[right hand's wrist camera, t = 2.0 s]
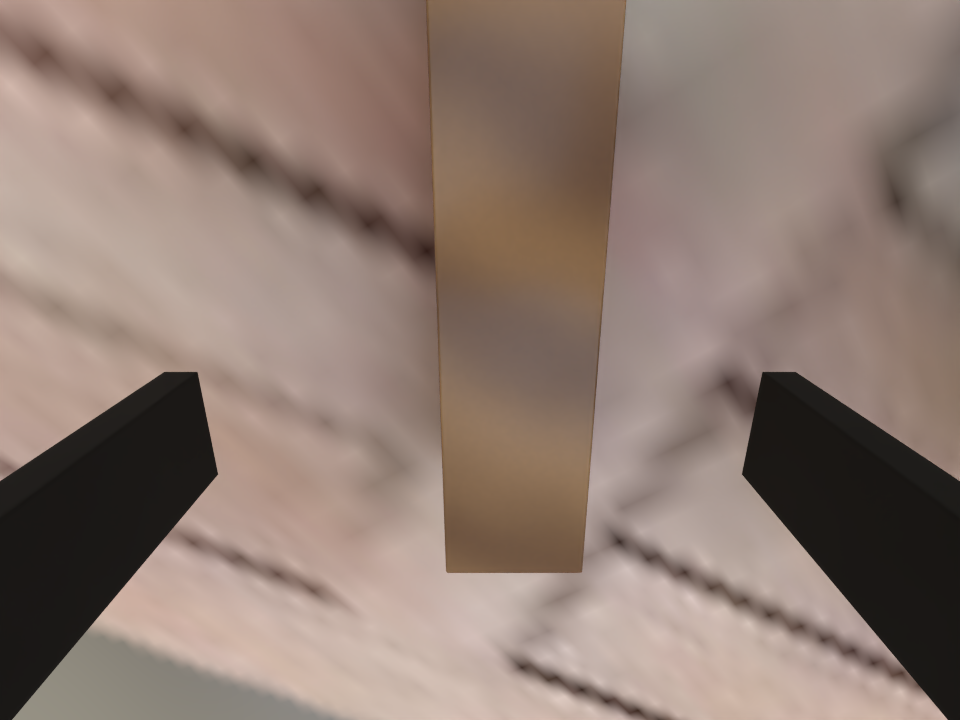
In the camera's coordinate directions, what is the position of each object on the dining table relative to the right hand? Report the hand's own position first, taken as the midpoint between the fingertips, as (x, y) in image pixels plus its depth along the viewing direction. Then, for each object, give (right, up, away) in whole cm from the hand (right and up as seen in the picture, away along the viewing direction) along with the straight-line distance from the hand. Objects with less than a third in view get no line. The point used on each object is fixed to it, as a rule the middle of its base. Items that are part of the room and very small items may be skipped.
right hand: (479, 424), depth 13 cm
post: (+1, +32, +2) cm, 32 cm away
